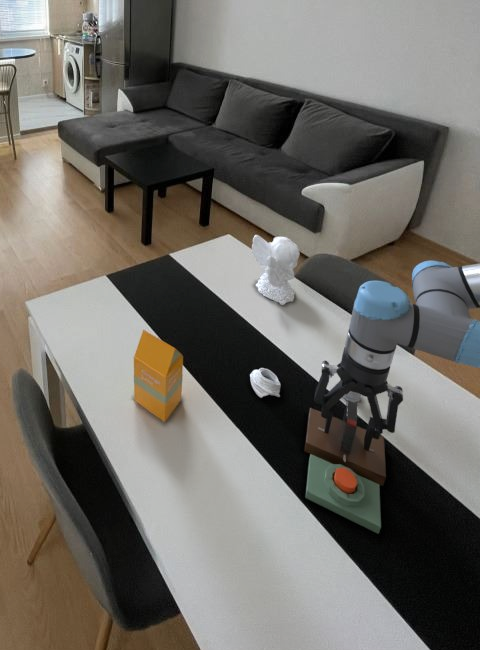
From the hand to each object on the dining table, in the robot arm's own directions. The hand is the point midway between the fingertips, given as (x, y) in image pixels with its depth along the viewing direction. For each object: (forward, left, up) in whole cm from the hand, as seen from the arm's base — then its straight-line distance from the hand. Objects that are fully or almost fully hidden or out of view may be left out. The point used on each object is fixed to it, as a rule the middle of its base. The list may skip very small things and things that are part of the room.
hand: (346, 435), depth 90 cm
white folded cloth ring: (+17, -8, -4) cm, 19 cm away
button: (0, +10, -1) cm, 10 cm away
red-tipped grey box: (0, 0, -1) cm, 1 cm away
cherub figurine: (+20, -44, -4) cm, 49 cm away
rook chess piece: (-1, -15, -4) cm, 16 cm away
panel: (0, 0, -4) cm, 4 cm away
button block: (0, +10, -4) cm, 11 cm away
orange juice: (+39, +8, -4) cm, 40 cm away
